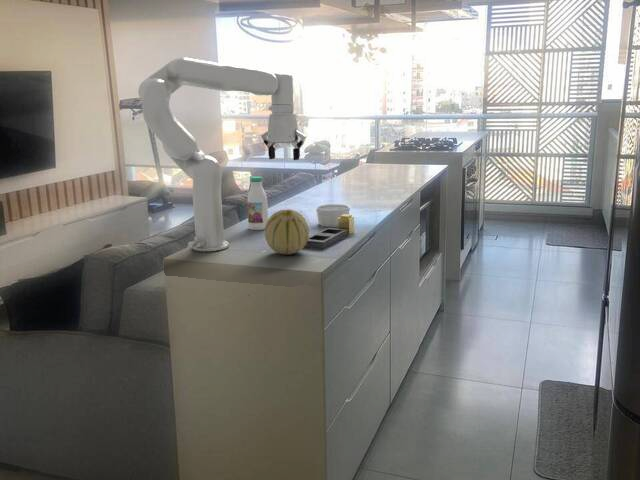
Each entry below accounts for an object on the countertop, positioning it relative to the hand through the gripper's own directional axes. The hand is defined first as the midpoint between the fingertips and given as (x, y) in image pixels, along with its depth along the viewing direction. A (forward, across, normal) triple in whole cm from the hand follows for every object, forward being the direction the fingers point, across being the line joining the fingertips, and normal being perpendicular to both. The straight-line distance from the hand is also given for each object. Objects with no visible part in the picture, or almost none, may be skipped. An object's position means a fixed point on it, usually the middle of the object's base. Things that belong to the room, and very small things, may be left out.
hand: (284, 159), depth 217 cm
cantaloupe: (+28, +11, -20) cm, 36 cm away
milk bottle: (+28, -17, +9) cm, 34 cm away
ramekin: (+28, +7, +25) cm, 39 cm away
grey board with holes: (+28, +16, -1) cm, 33 cm away
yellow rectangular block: (+28, +18, +13) cm, 36 cm away
